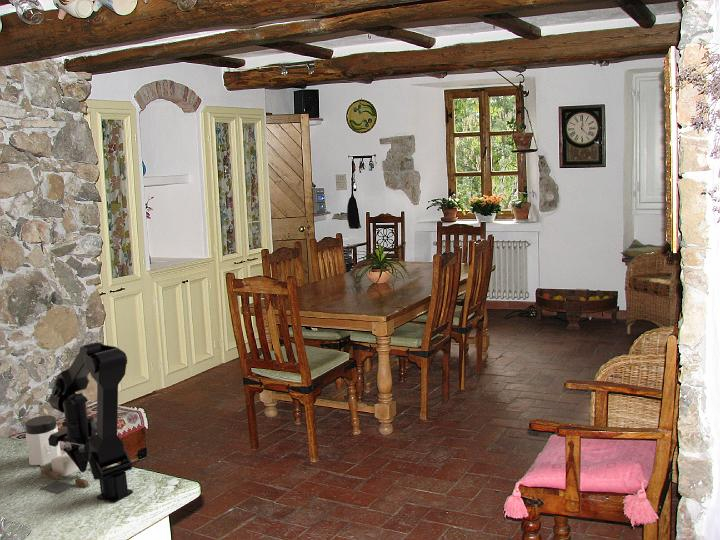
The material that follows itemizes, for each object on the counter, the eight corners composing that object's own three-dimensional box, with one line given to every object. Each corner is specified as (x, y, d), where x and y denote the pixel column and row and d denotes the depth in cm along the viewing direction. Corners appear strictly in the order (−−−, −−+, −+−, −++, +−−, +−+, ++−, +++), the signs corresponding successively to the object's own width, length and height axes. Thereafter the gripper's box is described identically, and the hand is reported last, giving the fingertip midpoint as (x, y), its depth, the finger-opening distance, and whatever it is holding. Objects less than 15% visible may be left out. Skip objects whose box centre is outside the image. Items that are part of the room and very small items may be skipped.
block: (79, 469, 209) (78, 455, 208) (64, 476, 204) (62, 462, 204) (67, 466, 211) (66, 452, 210) (52, 473, 207) (50, 459, 206)
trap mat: (73, 485, 198) (73, 484, 198) (58, 493, 194) (57, 492, 194) (56, 480, 202) (56, 480, 202) (40, 488, 197) (40, 487, 197)
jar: (35, 469, 210) (29, 428, 208) (24, 461, 216) (19, 421, 214) (66, 458, 216) (61, 419, 214) (55, 451, 222) (50, 412, 220)
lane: (115, 472, 205) (114, 463, 205) (85, 487, 196) (84, 478, 196) (71, 461, 214) (70, 452, 214) (41, 475, 206) (40, 466, 205)
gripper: (123, 410, 203) (130, 465, 206) (77, 403, 213) (84, 455, 215) (90, 424, 194) (98, 481, 196) (43, 416, 203) (51, 470, 206)
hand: (83, 471), depth 204 cm, fingers closed
